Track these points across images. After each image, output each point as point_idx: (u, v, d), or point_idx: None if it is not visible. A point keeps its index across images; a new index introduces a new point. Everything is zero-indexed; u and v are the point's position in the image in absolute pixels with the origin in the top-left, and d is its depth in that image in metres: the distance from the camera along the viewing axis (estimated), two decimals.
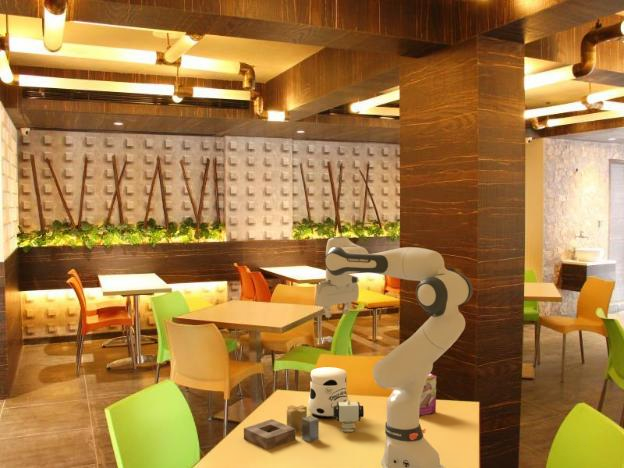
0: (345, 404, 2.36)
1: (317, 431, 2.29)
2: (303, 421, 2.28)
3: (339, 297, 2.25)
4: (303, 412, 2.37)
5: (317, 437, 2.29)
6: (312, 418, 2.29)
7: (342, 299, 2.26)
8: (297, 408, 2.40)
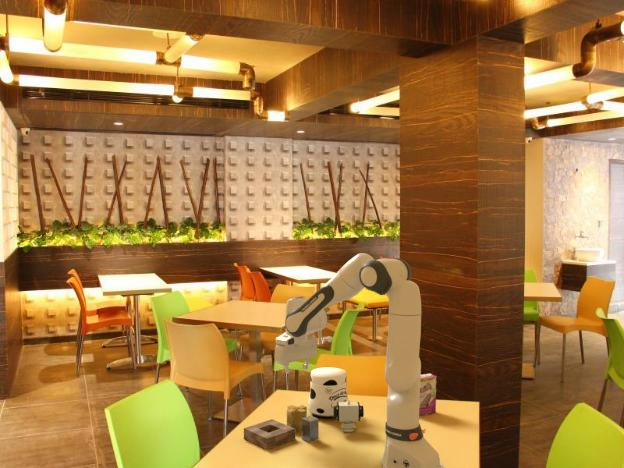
0: (345, 404, 2.36)
1: (317, 431, 2.29)
2: (303, 421, 2.28)
3: None
4: (303, 412, 2.37)
5: (317, 437, 2.29)
6: (312, 418, 2.29)
7: None
8: (297, 408, 2.40)
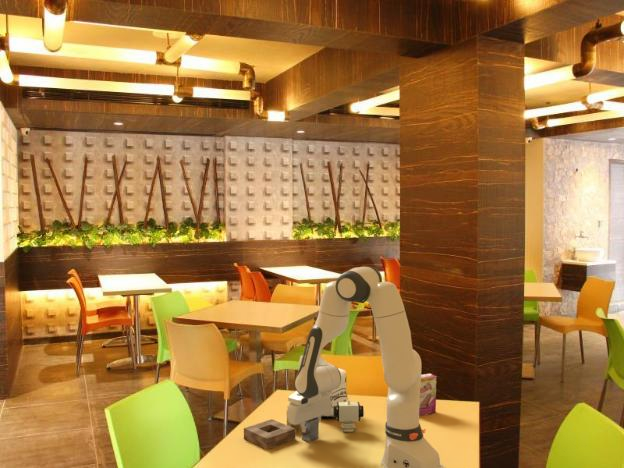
0: (345, 404, 2.36)
1: (317, 431, 2.29)
2: None
3: None
4: None
5: (317, 437, 2.29)
6: None
7: None
8: None
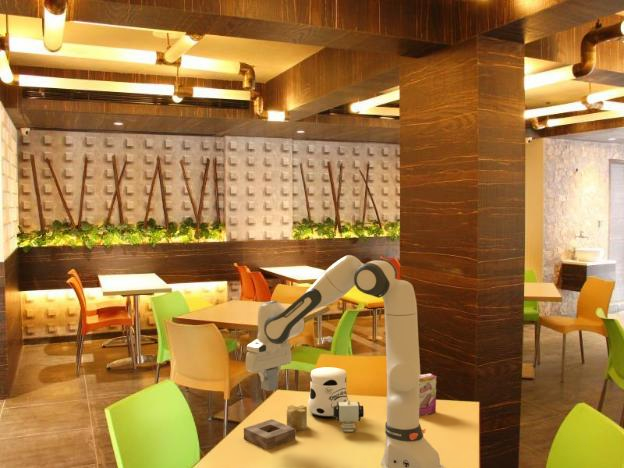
0: (345, 404, 2.36)
1: (276, 380, 2.28)
2: None
3: None
4: (303, 412, 2.37)
5: (276, 387, 2.28)
6: (271, 368, 2.28)
7: None
8: (297, 408, 2.40)
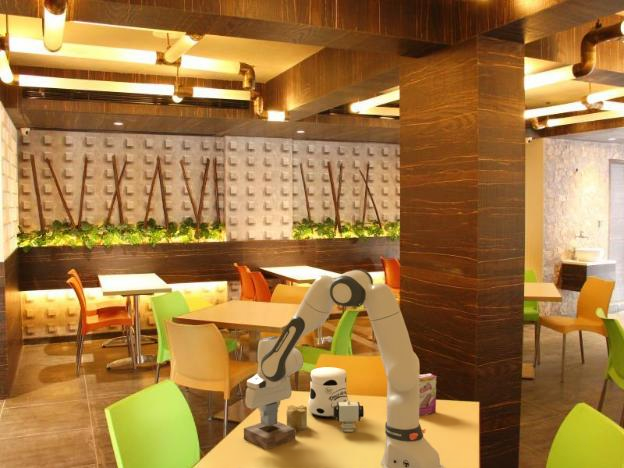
0: (345, 404, 2.36)
1: (276, 415, 2.29)
2: None
3: None
4: (303, 412, 2.37)
5: (276, 422, 2.29)
6: (271, 403, 2.29)
7: None
8: (297, 408, 2.40)
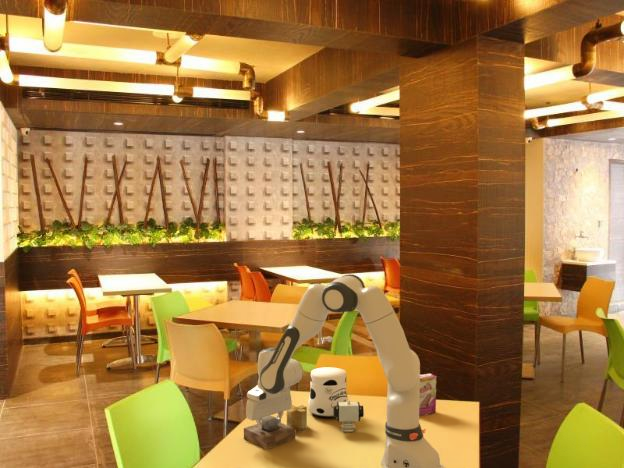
0: (345, 404, 2.36)
1: None
2: (262, 421, 2.29)
3: None
4: (303, 412, 2.37)
5: None
6: (271, 418, 2.29)
7: None
8: (297, 408, 2.40)
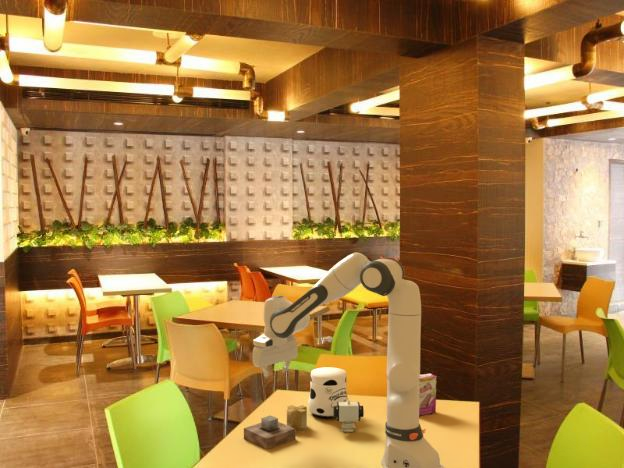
0: (345, 404, 2.36)
1: None
2: (262, 421, 2.29)
3: None
4: (303, 412, 2.37)
5: None
6: (271, 418, 2.29)
7: None
8: (297, 408, 2.40)
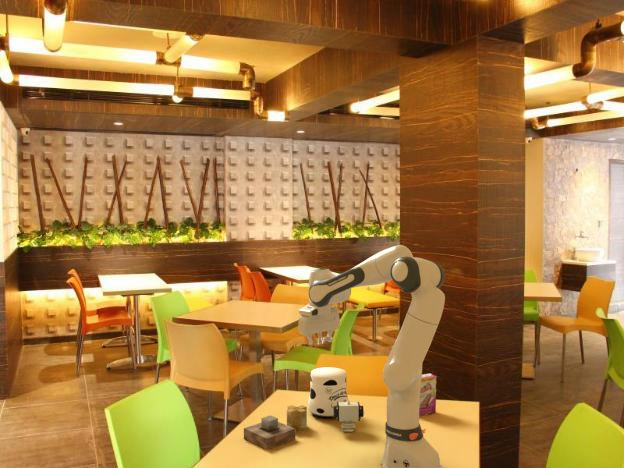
0: (345, 404, 2.36)
1: None
2: (262, 421, 2.29)
3: None
4: (303, 412, 2.37)
5: None
6: (271, 418, 2.29)
7: None
8: (297, 408, 2.40)
